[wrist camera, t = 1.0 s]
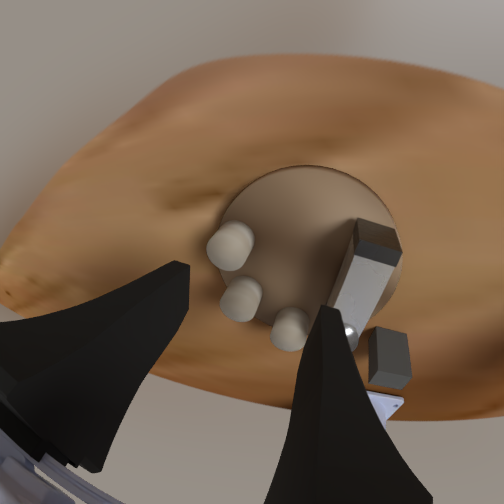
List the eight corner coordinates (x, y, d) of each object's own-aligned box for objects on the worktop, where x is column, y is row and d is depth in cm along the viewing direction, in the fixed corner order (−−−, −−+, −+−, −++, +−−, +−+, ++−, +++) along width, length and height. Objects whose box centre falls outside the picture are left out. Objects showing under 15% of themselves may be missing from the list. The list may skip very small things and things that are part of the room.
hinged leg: (351, 327, 18) (349, 358, 16) (318, 318, 18) (313, 349, 16) (395, 229, 14) (404, 254, 12) (356, 216, 14) (358, 240, 12)
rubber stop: (398, 346, 20) (401, 389, 16) (368, 339, 20) (368, 383, 17) (406, 334, 19) (412, 377, 16) (376, 326, 19) (378, 370, 16)
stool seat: (360, 339, 20) (360, 371, 18) (215, 297, 22) (199, 324, 19) (426, 199, 14) (441, 220, 12) (234, 145, 16) (214, 156, 13)
